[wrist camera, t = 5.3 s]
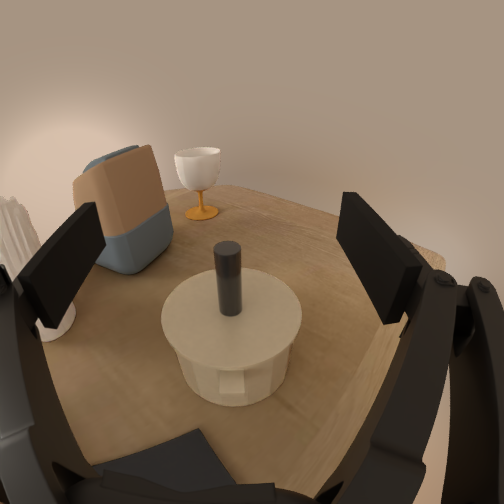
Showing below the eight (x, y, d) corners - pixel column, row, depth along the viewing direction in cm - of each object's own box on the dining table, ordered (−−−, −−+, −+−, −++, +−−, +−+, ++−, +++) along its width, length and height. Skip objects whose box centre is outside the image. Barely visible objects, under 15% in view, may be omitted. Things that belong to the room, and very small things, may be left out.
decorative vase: (38, 303, 43) (-8, 187, 29) (80, 298, 46) (38, 171, 32) (23, 343, 34) (-41, 215, 21) (69, 340, 37) (6, 197, 23)
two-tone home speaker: (130, 230, 67) (114, 142, 55) (182, 243, 62) (170, 140, 50) (83, 265, 54) (55, 165, 42) (134, 286, 49) (106, 164, 37)
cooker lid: (152, 372, 25) (123, 305, 20) (174, 275, 38) (163, 214, 33) (313, 368, 25) (332, 301, 20) (289, 272, 39) (294, 211, 34)
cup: (231, 209, 77) (229, 148, 68) (206, 226, 69) (201, 159, 59) (198, 201, 82) (193, 146, 73) (171, 217, 73) (164, 156, 64)
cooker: (174, 424, 28) (153, 387, 23) (189, 310, 44) (180, 262, 39) (298, 421, 28) (312, 384, 23) (278, 308, 45) (282, 260, 40)
